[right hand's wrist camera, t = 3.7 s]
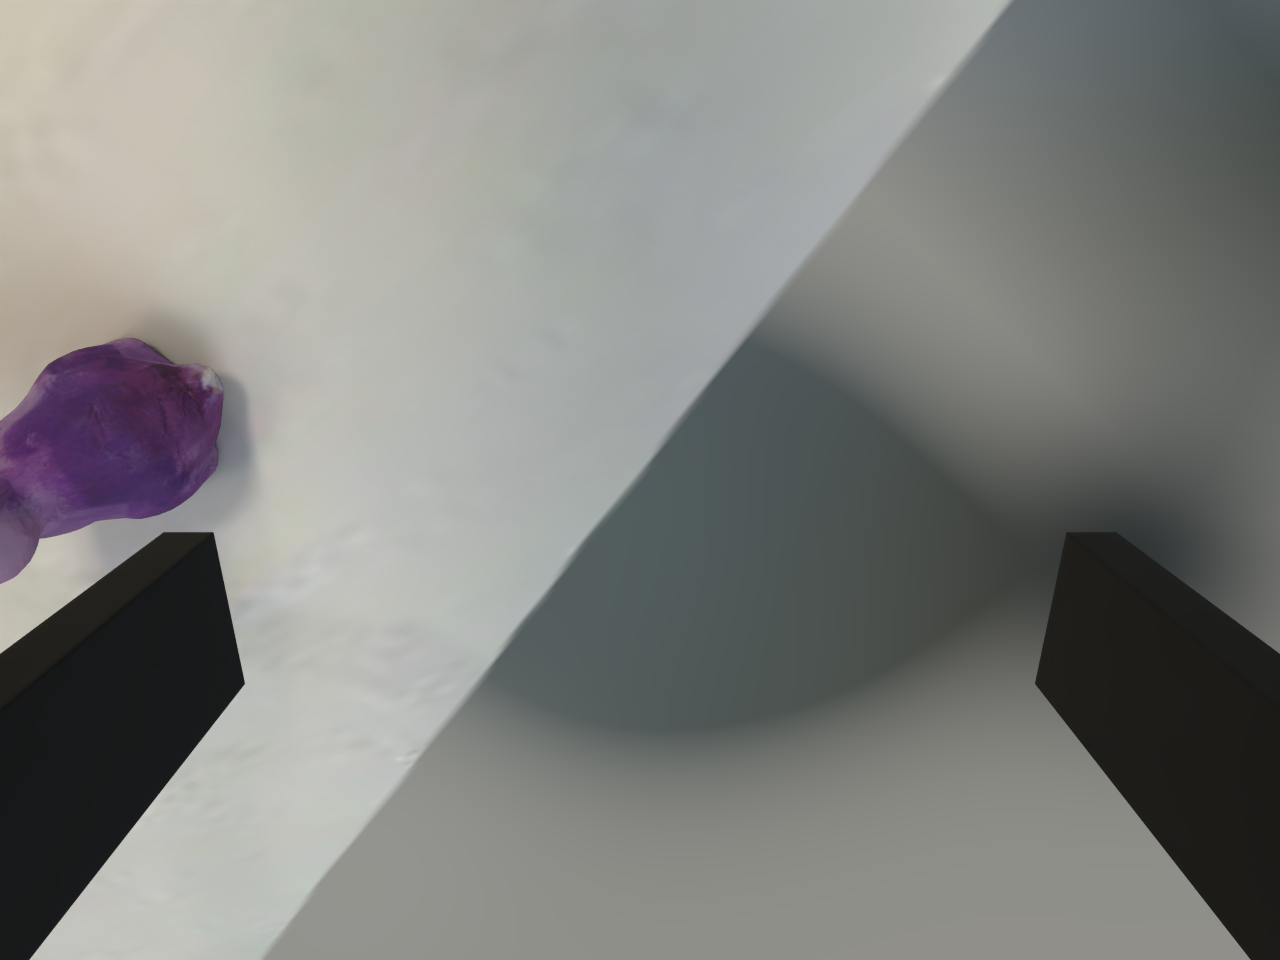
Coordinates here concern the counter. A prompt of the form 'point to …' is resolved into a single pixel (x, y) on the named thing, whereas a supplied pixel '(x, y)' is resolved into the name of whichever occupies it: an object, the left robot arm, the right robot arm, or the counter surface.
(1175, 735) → the right robot arm
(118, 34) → the counter surface
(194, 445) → the figurine
